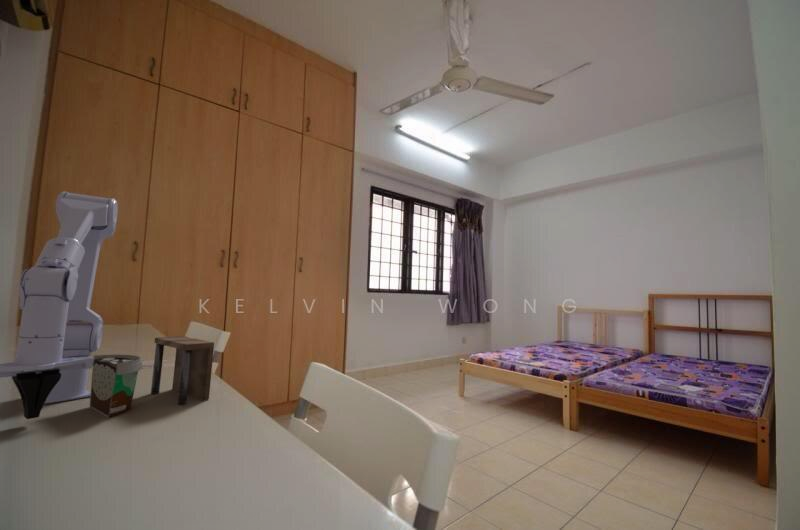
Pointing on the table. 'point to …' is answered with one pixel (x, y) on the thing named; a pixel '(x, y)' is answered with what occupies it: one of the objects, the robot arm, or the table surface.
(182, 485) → the table surface
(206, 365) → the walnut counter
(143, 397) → the table surface
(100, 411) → the food container
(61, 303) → the robot arm
